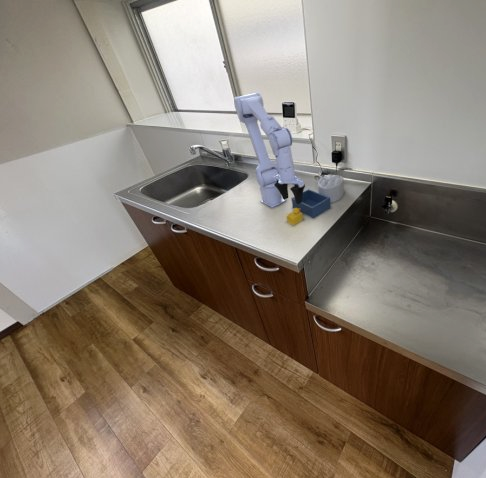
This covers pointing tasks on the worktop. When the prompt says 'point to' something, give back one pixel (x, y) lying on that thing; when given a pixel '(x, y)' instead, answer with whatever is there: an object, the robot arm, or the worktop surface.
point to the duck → (294, 216)
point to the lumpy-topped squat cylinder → (331, 187)
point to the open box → (312, 203)
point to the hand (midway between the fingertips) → (292, 200)
